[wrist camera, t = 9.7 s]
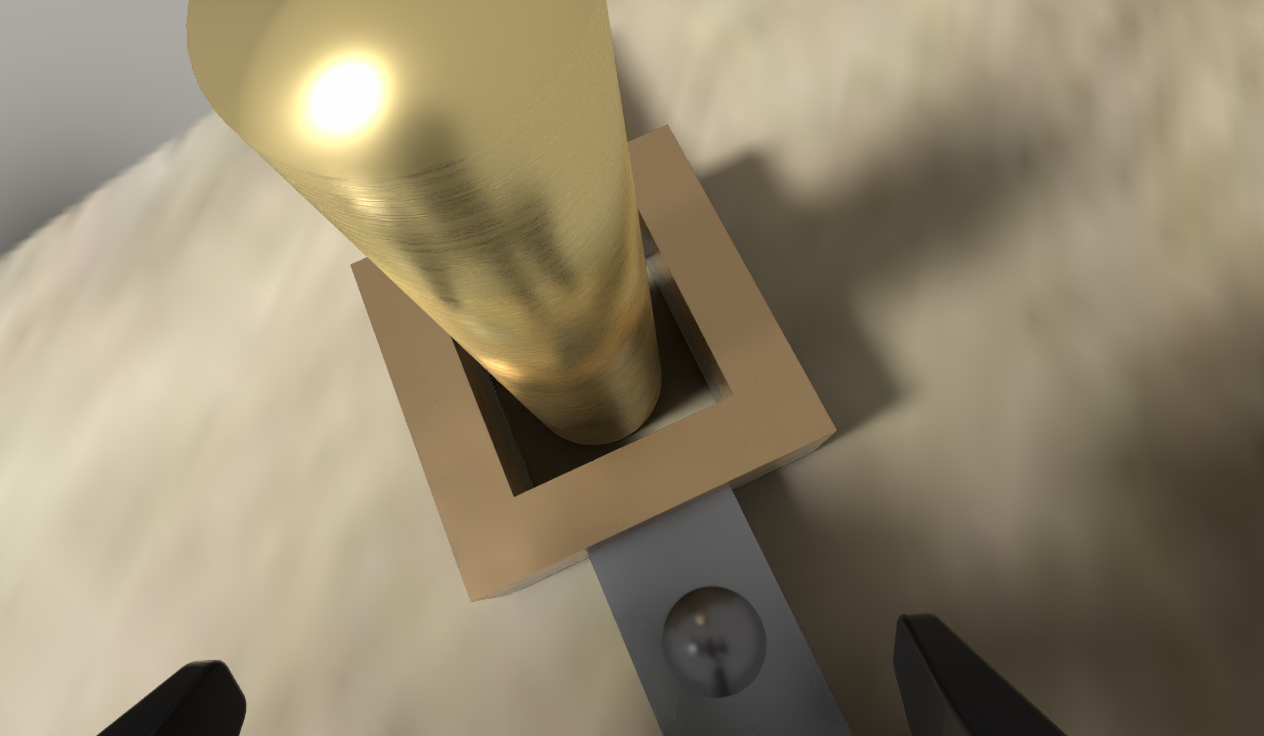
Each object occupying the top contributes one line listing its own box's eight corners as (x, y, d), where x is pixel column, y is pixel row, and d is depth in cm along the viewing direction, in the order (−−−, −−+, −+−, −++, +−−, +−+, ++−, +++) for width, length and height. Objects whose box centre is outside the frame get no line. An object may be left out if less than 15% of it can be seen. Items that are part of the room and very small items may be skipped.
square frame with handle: (1036, 868, 15) (1135, 957, 11) (677, 1049, 14) (673, 1195, 11) (591, 40, 21) (573, -54, 18) (341, 149, 21) (276, 72, 18)
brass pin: (684, 409, 18) (672, 55, 5) (558, 468, 18) (247, 242, 5) (628, 294, 19) (508, -228, 6) (508, 348, 19) (147, -77, 6)
